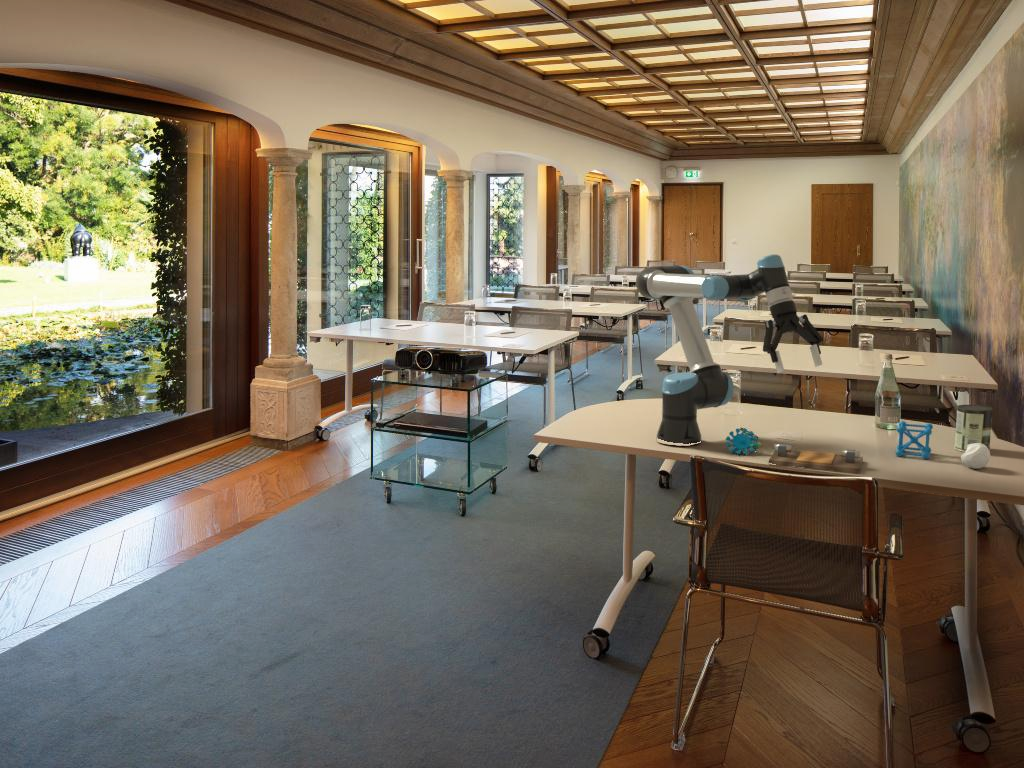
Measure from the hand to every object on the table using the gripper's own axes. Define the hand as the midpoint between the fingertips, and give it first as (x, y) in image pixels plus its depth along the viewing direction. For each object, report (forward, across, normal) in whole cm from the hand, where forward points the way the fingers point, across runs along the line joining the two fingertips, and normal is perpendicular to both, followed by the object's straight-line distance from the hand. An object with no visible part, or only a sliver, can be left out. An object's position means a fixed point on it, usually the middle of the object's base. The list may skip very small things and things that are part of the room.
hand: (800, 369), depth 263 cm
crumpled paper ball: (+41, +42, -10) cm, 59 cm away
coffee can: (+35, +58, +7) cm, 68 cm away
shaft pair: (+27, +2, +8) cm, 28 cm away
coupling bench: (+29, +2, +8) cm, 30 cm away
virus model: (+20, -12, +25) cm, 35 cm away
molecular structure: (+33, +36, +7) cm, 50 cm away
